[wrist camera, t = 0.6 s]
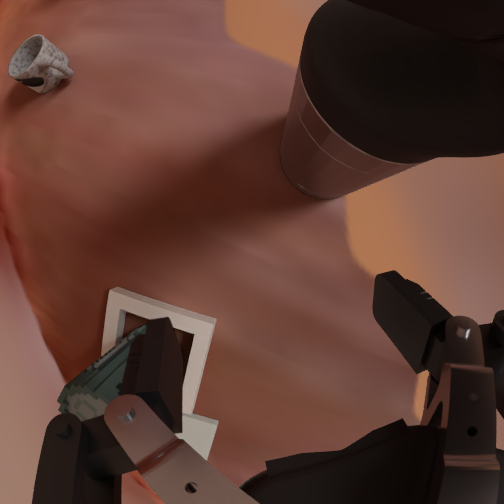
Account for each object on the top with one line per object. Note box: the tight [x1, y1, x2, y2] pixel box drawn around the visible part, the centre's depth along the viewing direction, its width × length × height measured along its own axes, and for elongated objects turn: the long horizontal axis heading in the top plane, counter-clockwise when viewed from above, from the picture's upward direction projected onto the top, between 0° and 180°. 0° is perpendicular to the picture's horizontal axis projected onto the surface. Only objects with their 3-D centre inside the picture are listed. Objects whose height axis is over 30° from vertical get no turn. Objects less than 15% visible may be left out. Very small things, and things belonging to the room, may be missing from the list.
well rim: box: [101, 287, 216, 415], centre depth 30 cm, size 12×12×2 cm
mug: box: [8, 34, 74, 94], centre depth 26 cm, size 10×7×7 cm
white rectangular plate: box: [175, 412, 218, 461], centre depth 32 cm, size 8×10×1 cm
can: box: [57, 324, 181, 421], centre depth 24 cm, size 6×6×15 cm
